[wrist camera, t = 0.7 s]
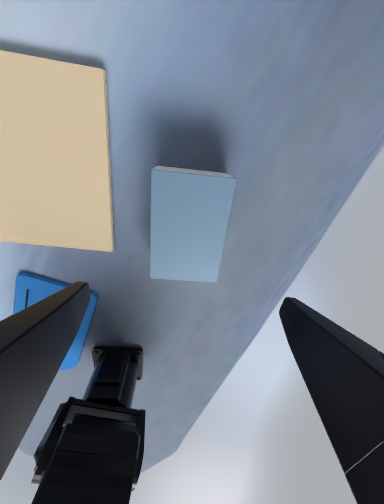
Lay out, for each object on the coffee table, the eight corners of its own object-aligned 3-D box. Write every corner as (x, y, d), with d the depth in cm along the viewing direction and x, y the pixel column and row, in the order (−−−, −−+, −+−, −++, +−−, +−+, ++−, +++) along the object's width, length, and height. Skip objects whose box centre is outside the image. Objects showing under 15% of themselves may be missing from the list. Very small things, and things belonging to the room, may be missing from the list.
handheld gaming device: (8, 362, 26) (14, 274, 20) (14, 354, 27) (21, 268, 21) (73, 375, 28) (97, 298, 22) (77, 367, 29) (100, 291, 23)
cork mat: (114, 249, 20) (112, 251, 20) (-15, 236, 19) (-21, 239, 19) (105, 72, 14) (103, 69, 13) (-88, 36, 13) (-99, 31, 12)
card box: (210, 260, 22) (216, 282, 18) (155, 256, 21) (149, 278, 18) (225, 172, 18) (236, 178, 14) (157, 165, 17) (151, 169, 14)
